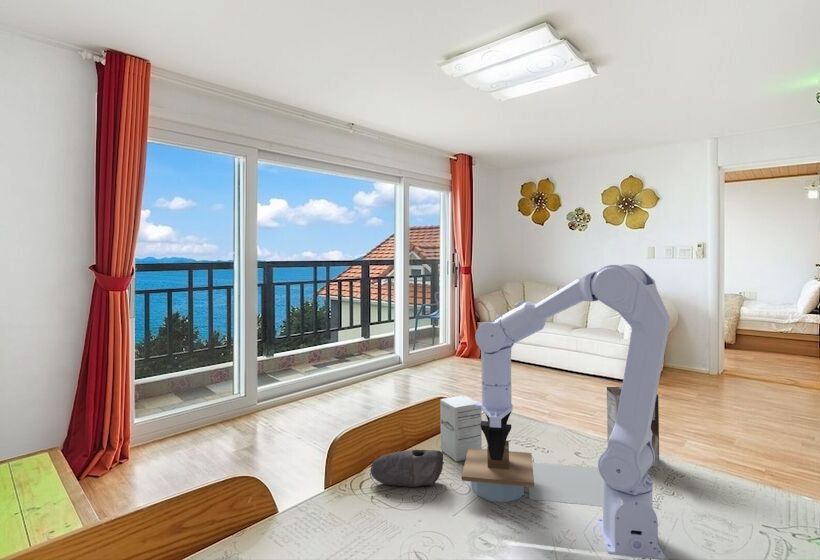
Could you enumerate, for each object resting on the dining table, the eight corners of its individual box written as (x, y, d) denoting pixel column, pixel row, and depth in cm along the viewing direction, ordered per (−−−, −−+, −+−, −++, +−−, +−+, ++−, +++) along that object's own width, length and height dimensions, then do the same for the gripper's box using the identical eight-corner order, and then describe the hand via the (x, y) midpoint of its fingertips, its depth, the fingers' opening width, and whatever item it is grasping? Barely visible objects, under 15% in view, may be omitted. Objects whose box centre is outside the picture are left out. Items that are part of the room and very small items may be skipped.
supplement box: (439, 450, 107) (439, 398, 106) (466, 444, 110) (465, 394, 109) (455, 462, 100) (454, 407, 100) (483, 456, 103) (482, 402, 103)
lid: (534, 487, 79) (534, 460, 79) (461, 480, 82) (461, 455, 82) (531, 456, 92) (531, 433, 92) (468, 451, 95) (468, 429, 95)
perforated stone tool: (368, 489, 88) (367, 455, 88) (373, 477, 94) (372, 444, 93) (443, 492, 87) (443, 457, 87) (444, 479, 92) (443, 446, 92)
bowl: (524, 506, 81) (524, 482, 81) (469, 501, 83) (469, 477, 83) (523, 480, 91) (522, 459, 91) (474, 476, 93) (473, 455, 93)
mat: (622, 510, 79) (621, 508, 79) (529, 501, 83) (529, 498, 83) (604, 470, 95) (604, 468, 95) (526, 464, 98) (526, 461, 98)
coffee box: (647, 455, 102) (647, 386, 101) (660, 468, 95) (660, 394, 95) (606, 454, 103) (605, 385, 102) (616, 467, 96) (616, 393, 96)
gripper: (478, 372, 95) (479, 435, 95) (472, 391, 80) (473, 465, 81) (512, 374, 93) (513, 438, 93) (512, 393, 79) (513, 468, 79)
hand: (497, 451), depth 87 cm, fingers open, 7 cm apart
